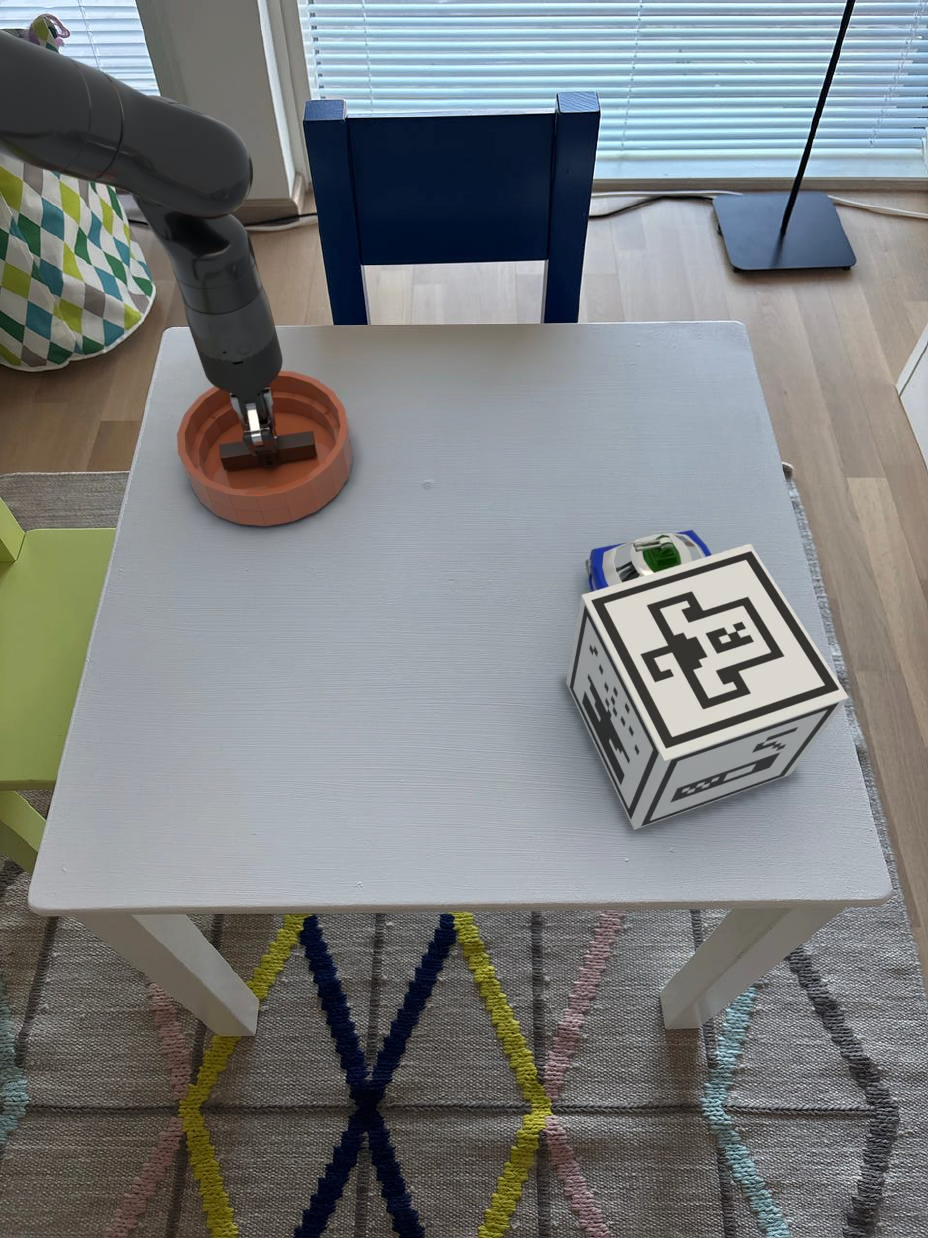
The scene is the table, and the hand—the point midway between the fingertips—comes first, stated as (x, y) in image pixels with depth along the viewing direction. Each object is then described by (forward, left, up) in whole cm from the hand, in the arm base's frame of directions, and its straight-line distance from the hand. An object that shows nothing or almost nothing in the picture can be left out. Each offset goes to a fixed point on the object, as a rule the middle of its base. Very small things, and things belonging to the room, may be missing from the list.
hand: (270, 455), depth 99 cm
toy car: (+35, -25, -2) cm, 43 cm away
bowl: (0, 0, -1) cm, 1 cm away
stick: (0, 0, 0) cm, 0 cm away
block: (+33, -39, -2) cm, 51 cm away
